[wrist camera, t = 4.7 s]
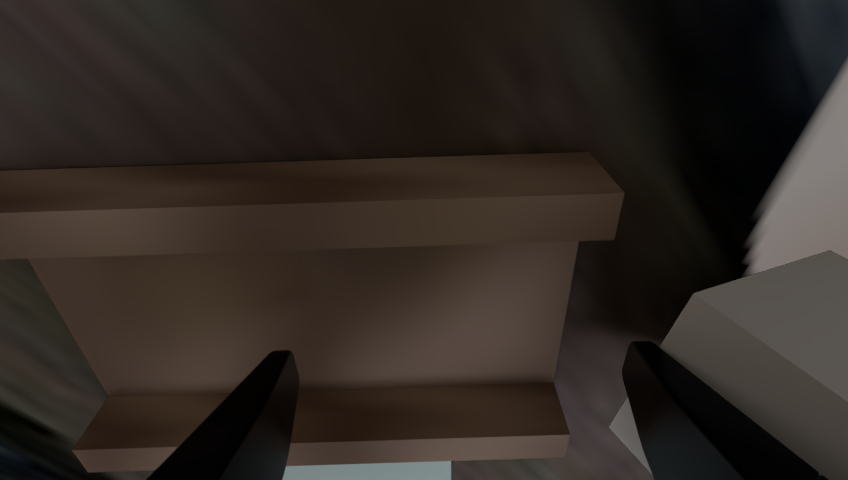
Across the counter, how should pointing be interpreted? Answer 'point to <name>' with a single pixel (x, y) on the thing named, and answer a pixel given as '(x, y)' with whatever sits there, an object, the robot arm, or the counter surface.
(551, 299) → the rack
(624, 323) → the counter surface
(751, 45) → the counter surface
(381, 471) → the pad
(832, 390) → the block
